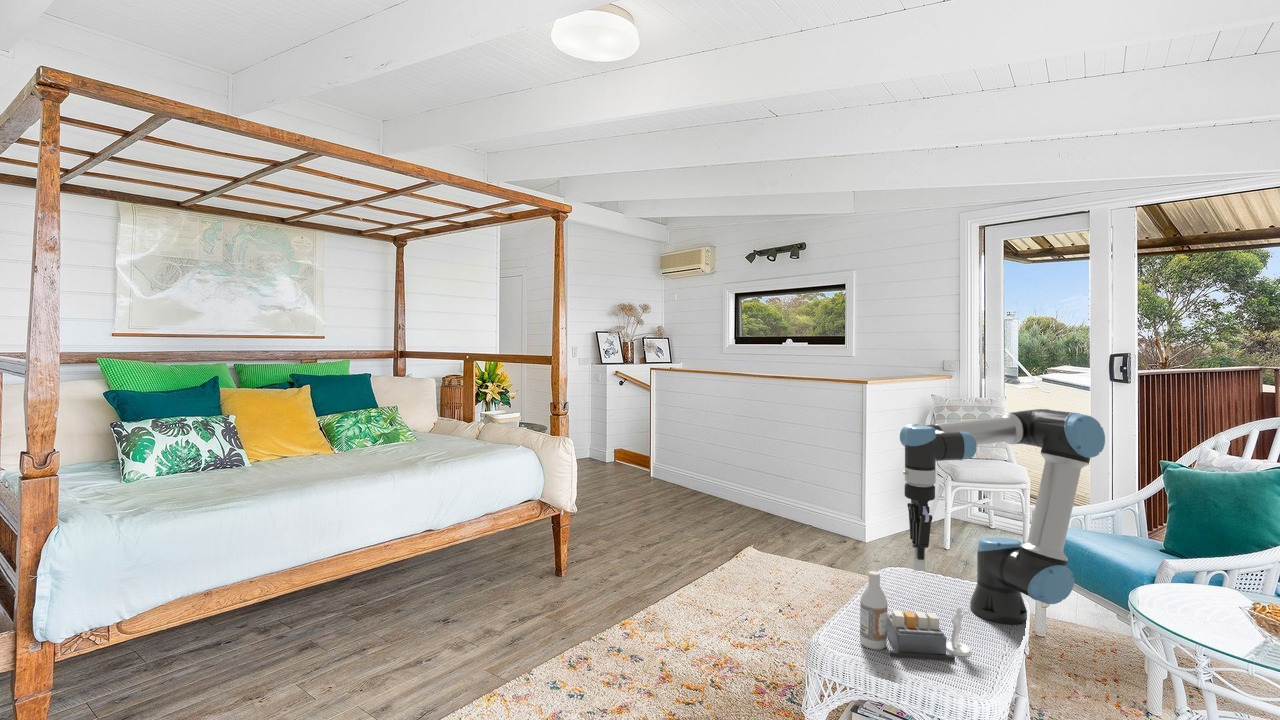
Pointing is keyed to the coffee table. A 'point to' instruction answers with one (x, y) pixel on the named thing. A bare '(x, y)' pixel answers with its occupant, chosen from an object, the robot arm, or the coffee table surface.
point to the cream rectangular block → (932, 620)
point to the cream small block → (898, 618)
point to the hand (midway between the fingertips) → (918, 569)
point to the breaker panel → (916, 639)
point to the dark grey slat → (922, 656)
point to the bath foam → (873, 614)
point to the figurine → (954, 645)
